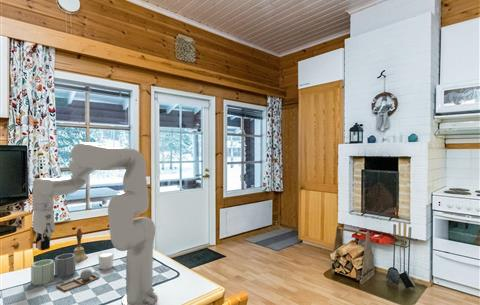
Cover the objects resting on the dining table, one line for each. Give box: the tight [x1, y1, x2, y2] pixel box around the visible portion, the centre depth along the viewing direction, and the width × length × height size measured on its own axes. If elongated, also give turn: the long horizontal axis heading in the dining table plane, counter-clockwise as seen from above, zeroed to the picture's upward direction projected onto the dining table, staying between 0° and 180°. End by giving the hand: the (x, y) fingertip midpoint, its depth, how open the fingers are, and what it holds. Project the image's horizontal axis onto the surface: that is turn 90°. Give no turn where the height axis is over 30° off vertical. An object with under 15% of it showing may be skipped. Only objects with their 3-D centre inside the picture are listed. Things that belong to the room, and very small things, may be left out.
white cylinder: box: [98, 251, 114, 270], centre depth 134 cm, size 7×7×7 cm
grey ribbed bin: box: [54, 252, 76, 278], centre depth 127 cm, size 8×8×9 cm
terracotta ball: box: [35, 240, 42, 251], centre depth 120 cm, size 4×4×4 cm
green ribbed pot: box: [30, 259, 55, 286], centre depth 120 cm, size 8×8×9 cm
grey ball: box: [80, 268, 93, 280], centre depth 121 cm, size 4×4×4 cm
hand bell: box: [73, 228, 89, 263], centre depth 147 cm, size 8×8×16 cm
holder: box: [56, 273, 100, 293], centre depth 118 cm, size 7×14×2 cm, turn 146°
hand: (42, 247), depth 120 cm, fingers closed on terracotta ball, 4 cm apart
